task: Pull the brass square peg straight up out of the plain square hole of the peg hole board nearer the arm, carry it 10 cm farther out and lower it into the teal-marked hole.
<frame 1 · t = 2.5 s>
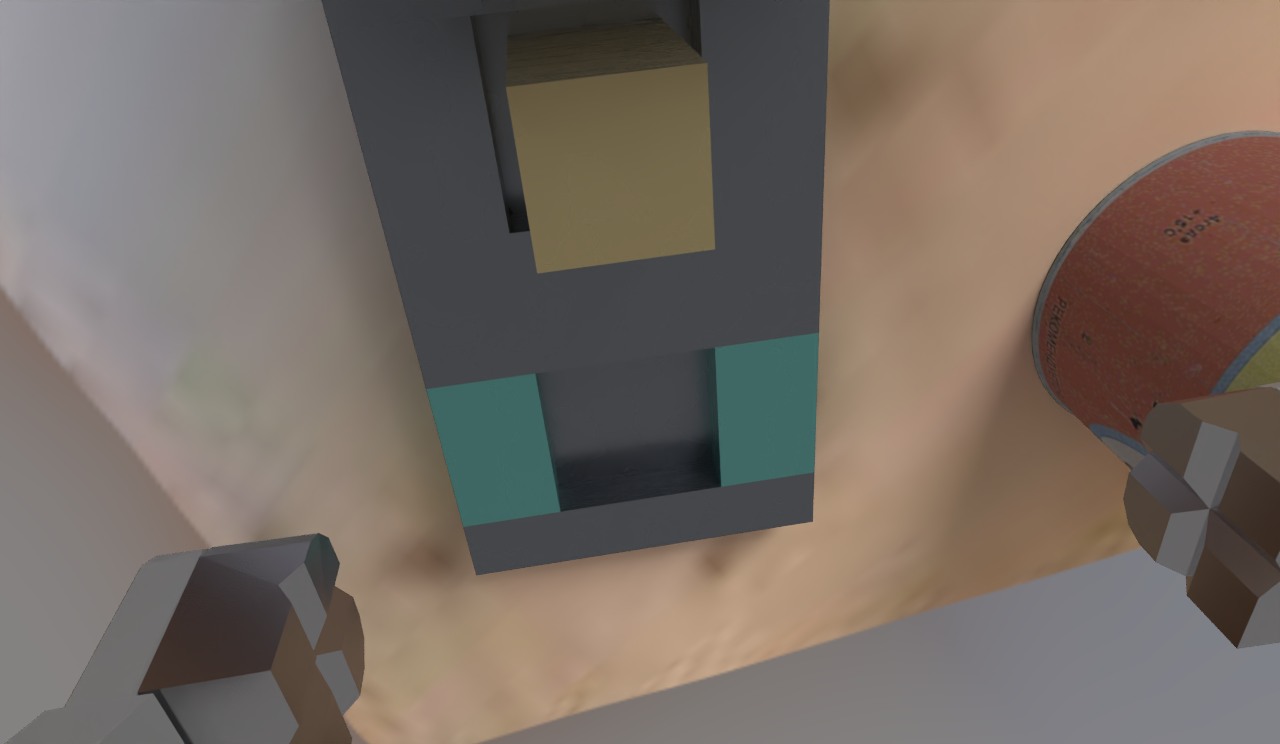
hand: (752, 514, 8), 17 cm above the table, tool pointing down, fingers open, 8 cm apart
canned food: (1182, 289, 29), on the table
peg hole board: (611, 265, 25), on the table
brass peg: (593, 104, 22), resting on peg hole board
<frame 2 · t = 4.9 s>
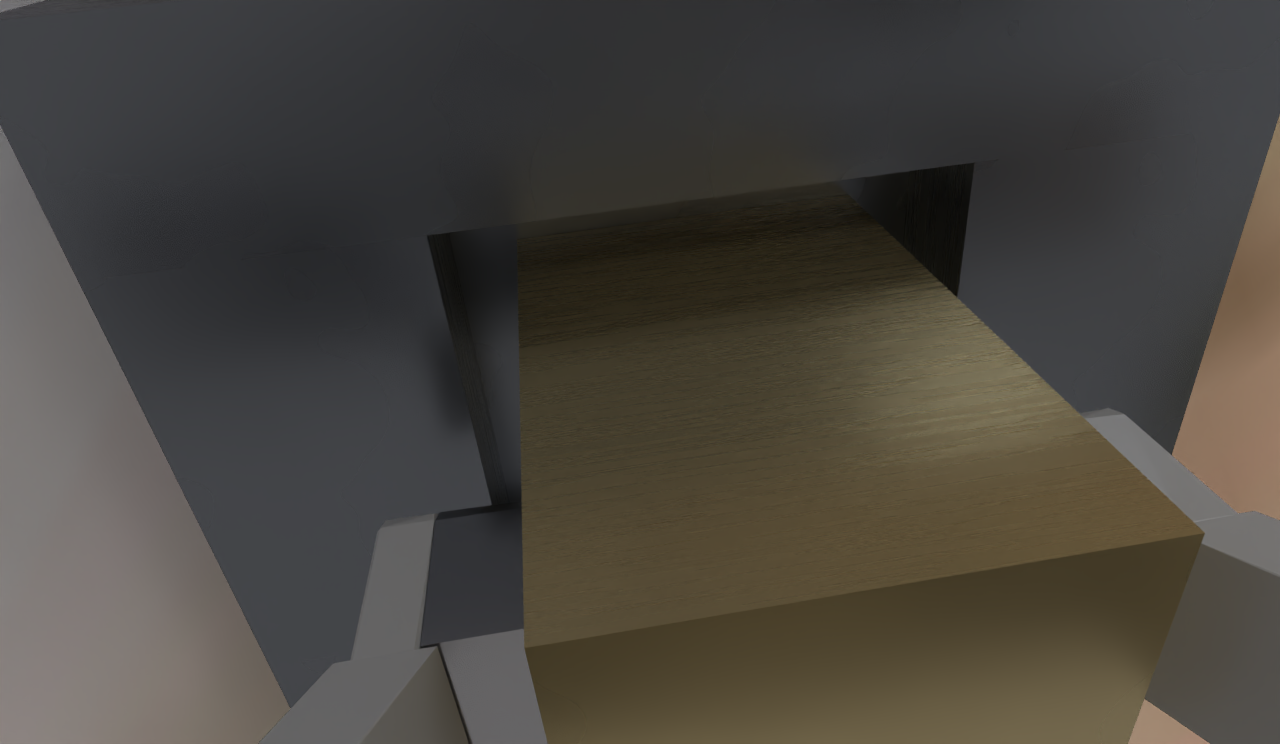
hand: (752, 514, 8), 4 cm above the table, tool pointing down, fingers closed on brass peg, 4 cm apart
peg hole board: (704, 597, 14), on the table
brass peg: (694, 360, 11), point 1 cm above the table, touching gripper, peg hole board
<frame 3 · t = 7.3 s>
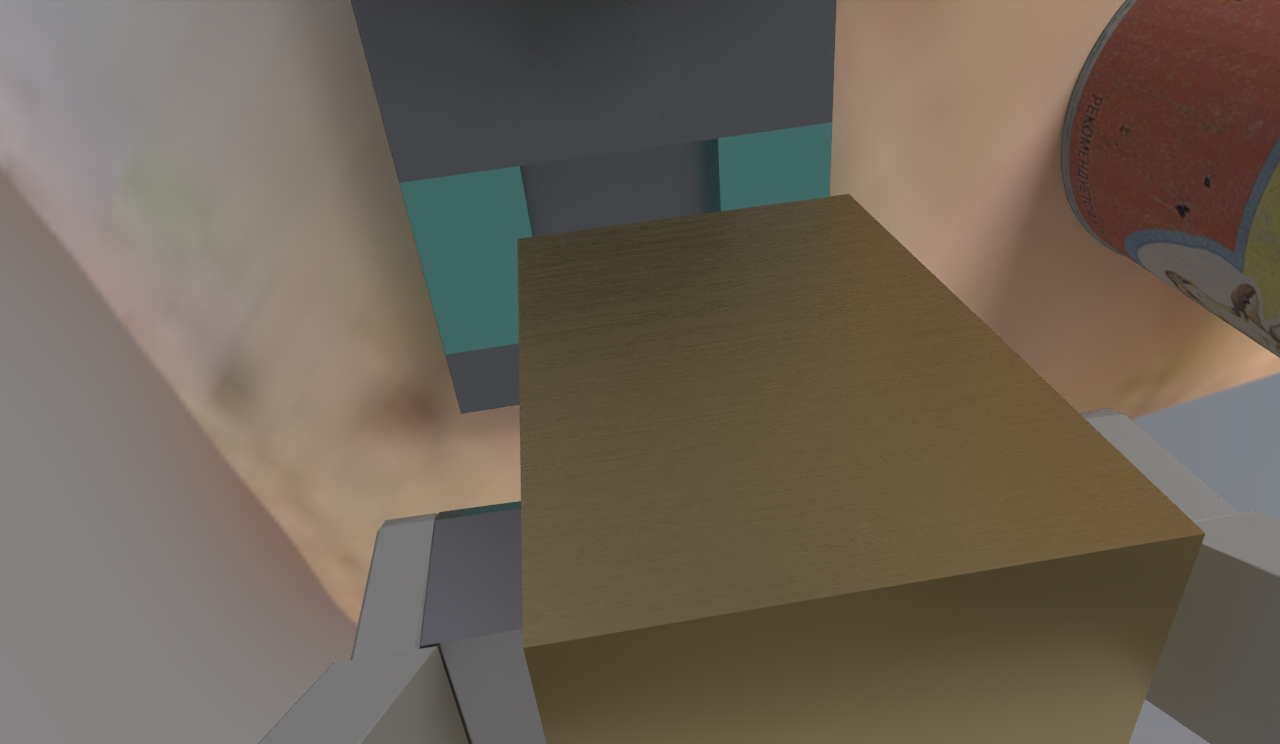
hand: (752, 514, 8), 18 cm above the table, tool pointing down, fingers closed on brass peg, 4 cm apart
canned food: (1225, 97, 27), on the table
peg hole board: (602, 50, 23), on the table
brass peg: (694, 359, 11), point 15 cm above the table, touching gripper
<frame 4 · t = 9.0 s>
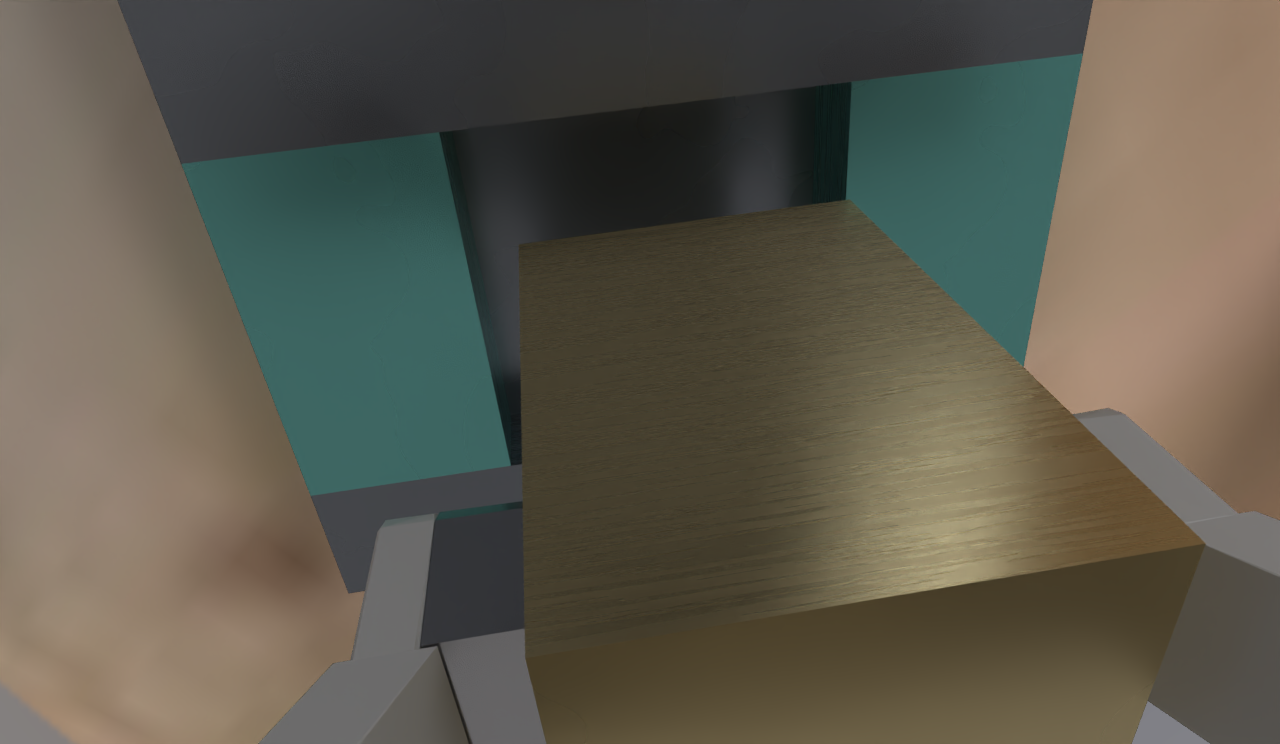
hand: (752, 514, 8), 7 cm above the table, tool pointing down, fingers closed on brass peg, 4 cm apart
brass peg: (695, 364, 11), point 4 cm above the table, touching gripper
when the fingers open (5 cm above the table, at t = 10.1 s): brass peg drops 1 cm, resting on peg hole board.
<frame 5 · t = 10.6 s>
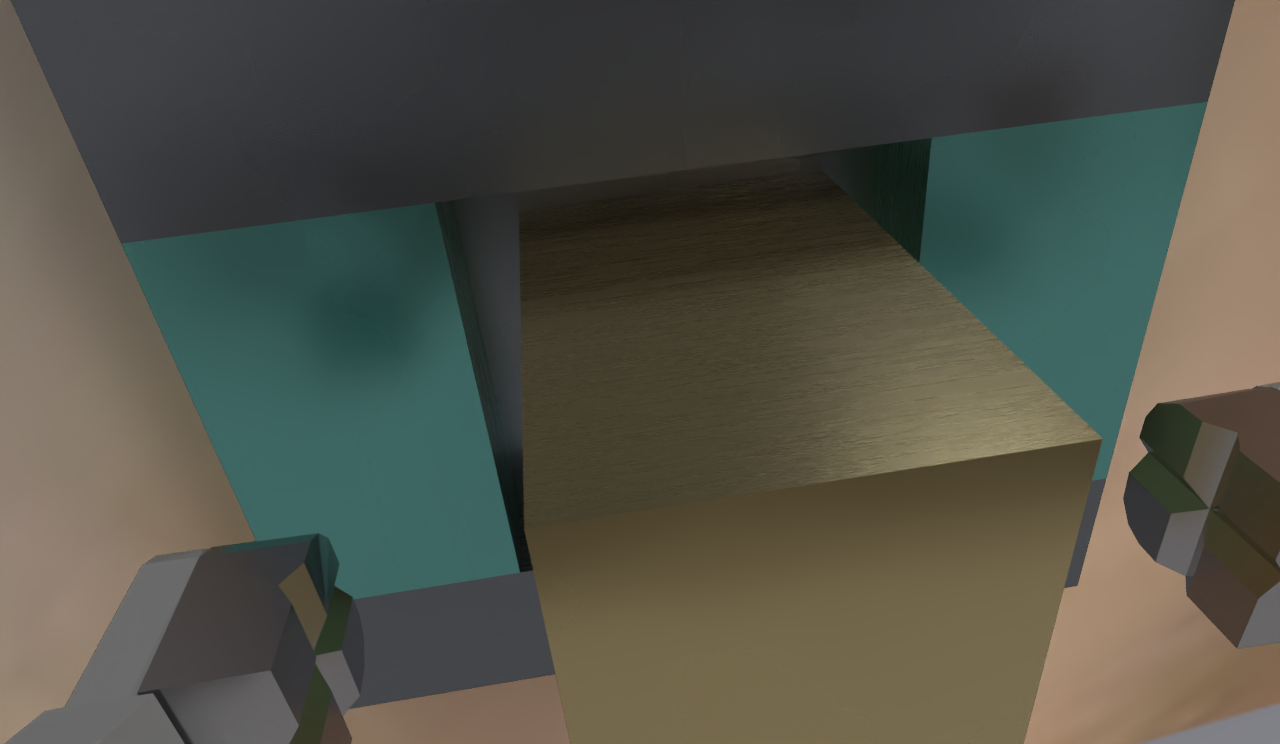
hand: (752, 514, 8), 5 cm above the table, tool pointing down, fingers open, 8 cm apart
brass peg: (682, 326, 12), resting on peg hole board
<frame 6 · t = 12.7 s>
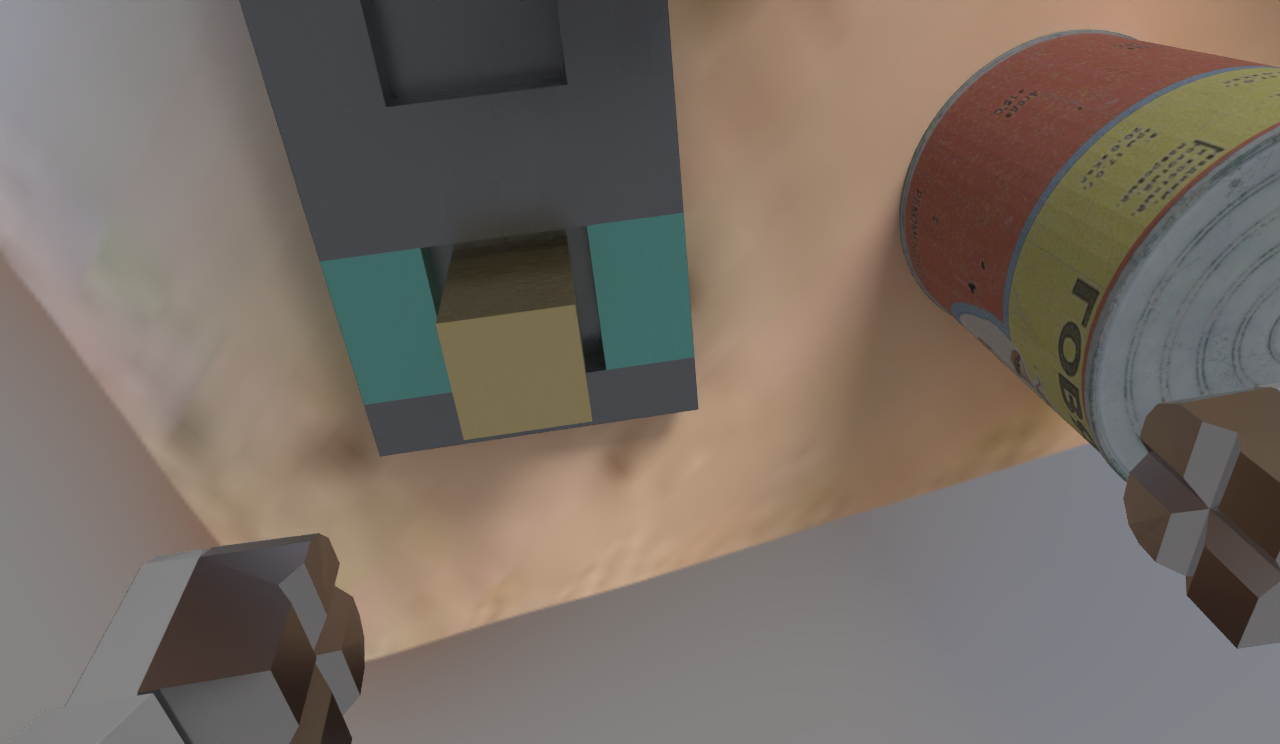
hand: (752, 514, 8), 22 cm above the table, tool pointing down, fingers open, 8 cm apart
canned food: (1042, 189, 31), on the table
peg hole board: (493, 153, 28), on the table
brass peg: (519, 295, 30), resting on peg hole board
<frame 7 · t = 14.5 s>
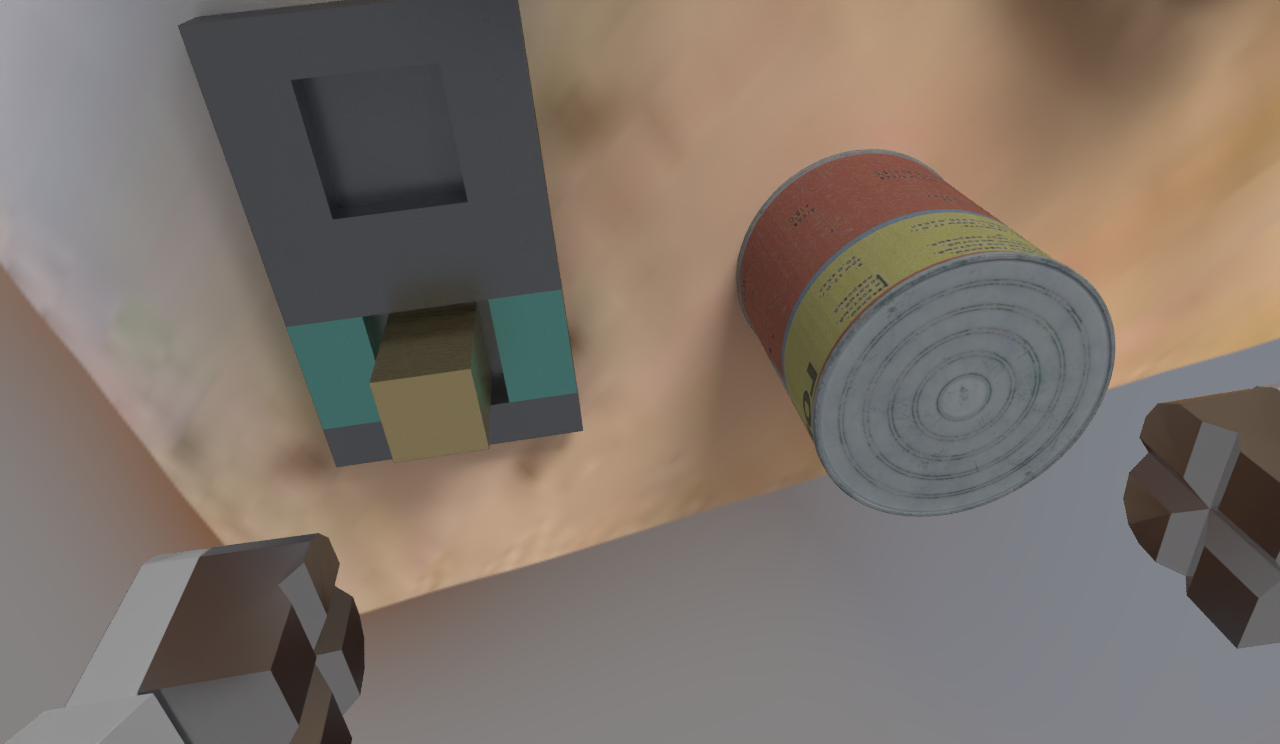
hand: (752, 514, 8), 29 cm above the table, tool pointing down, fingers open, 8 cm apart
canned food: (848, 262, 40), on the table
peg hole board: (418, 243, 37), on the table
brass peg: (442, 345, 39), resting on peg hole board
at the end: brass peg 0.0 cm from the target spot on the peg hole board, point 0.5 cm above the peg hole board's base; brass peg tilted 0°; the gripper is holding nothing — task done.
